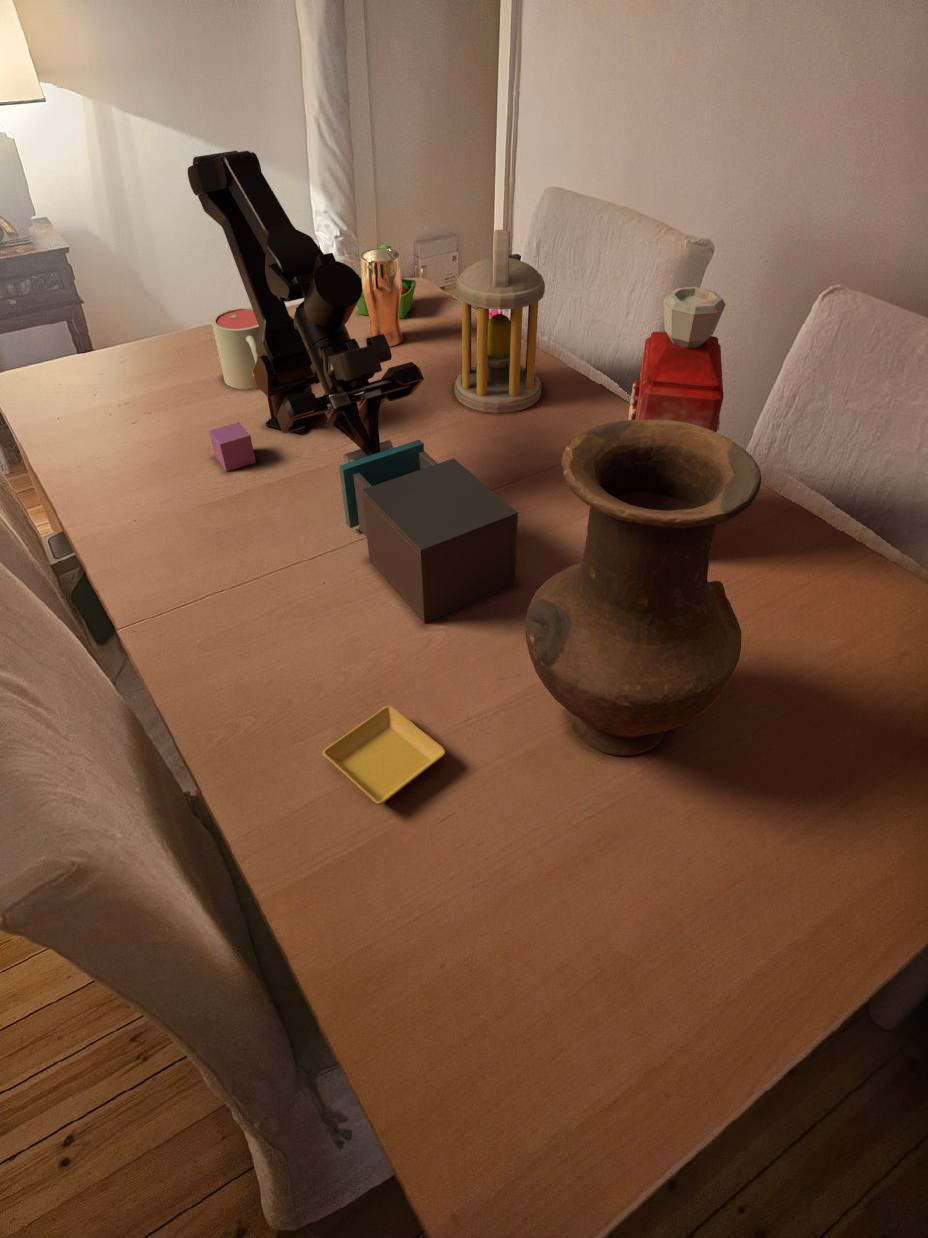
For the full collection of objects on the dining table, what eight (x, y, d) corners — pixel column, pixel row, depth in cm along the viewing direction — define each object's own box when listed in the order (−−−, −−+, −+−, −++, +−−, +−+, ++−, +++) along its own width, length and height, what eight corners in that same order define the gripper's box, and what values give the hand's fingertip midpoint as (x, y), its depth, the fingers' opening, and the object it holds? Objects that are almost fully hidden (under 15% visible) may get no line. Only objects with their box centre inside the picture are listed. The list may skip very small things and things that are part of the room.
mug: (218, 370, 141) (206, 313, 134) (271, 360, 144) (261, 303, 137) (237, 405, 132) (225, 346, 125) (293, 393, 135) (284, 334, 128)
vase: (717, 670, 88) (790, 419, 68) (706, 819, 74) (794, 561, 54) (541, 637, 92) (561, 391, 72) (500, 773, 78) (510, 516, 58)
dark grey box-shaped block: (369, 561, 102) (361, 489, 95) (455, 528, 107) (453, 457, 100) (424, 623, 94) (420, 550, 87) (514, 585, 99) (518, 512, 92)
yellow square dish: (322, 764, 79) (319, 751, 78) (390, 716, 84) (388, 702, 82) (380, 819, 75) (378, 805, 73) (448, 765, 79) (448, 751, 78)
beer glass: (359, 343, 149) (351, 257, 138) (380, 329, 153) (373, 245, 143) (392, 351, 146) (386, 264, 136) (412, 336, 151) (408, 251, 141)
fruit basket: (350, 316, 157) (344, 255, 150) (365, 299, 164) (360, 239, 156) (407, 322, 155) (404, 260, 148) (420, 304, 162) (418, 244, 154)
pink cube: (226, 471, 118) (219, 444, 114) (215, 457, 120) (208, 430, 117) (256, 462, 119) (250, 435, 116) (244, 448, 122) (238, 421, 119)
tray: (332, 508, 109) (324, 450, 103) (407, 482, 114) (403, 425, 108) (392, 575, 99) (387, 515, 93) (472, 544, 103) (472, 484, 97)
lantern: (456, 371, 140) (454, 214, 123) (539, 372, 140) (549, 215, 123) (452, 412, 130) (449, 247, 113) (542, 413, 129) (553, 248, 112)
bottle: (692, 564, 101) (748, 327, 81) (609, 554, 103) (643, 319, 83) (692, 499, 112) (742, 274, 91) (616, 490, 113) (649, 268, 93)
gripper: (269, 333, 93) (323, 461, 93) (412, 298, 100) (462, 417, 101) (256, 373, 103) (305, 488, 104) (387, 338, 110) (432, 446, 111)
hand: (377, 459), depth 104 cm, fingers closed, pressing on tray
